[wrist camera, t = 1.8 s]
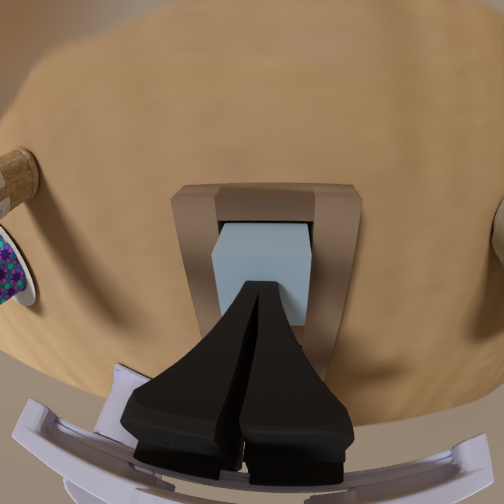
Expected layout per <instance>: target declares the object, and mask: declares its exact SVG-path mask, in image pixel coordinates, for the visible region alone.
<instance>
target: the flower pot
mask: <svg viewBox="0 0 504 504" xmlns="http://www.w3.org/2000/svg"><path fill="white" fill-rule="evenodd" d="M492 246H493V249H494V251H495V253H496V255H497V256H498V258H499V259H500V261H501V263H502V264H503V266H504V199H503V200H502V202H501V204H500V206H499V208H498V210H497V212H496V215H495V218H494V232H493V236H492Z"/></svg>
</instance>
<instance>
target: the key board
mask: <svg viewBox="0 0 504 504" xmlns="http://www.w3.org/2000/svg"><path fill="white" fill-rule="evenodd" d="M171 204H172V210H173V215H174V220H175V225H176V230H177V235H178V240H179V245H180V250H181V254H182V259H183V263H184V268H185V272H186V276H187V280H188V285H189V289H190V293H191V297H192V301H193V305H194V309H195V313H196V316H197V320H198V324H199V327H200V331H201V335H202V338H204V337H205V336H206V335H207V334H208V333H209V332H210V331H211V329H212V328H213V327H214V326H215V325H216V323H217V322H218V321H219V320H220V318H221V317H222V315H221V309H220V304H219V298H218V292H217V286H216V280H215V274H214V268H213V261H212V255H211V254H212V252H213V249H214V247H215V245H216V242H217V240H218V238H219V236H220V233H221V231H222V229H223V226H224V224H225V223H227V221H235V220H260V221H310V231H309V240H310V247H311V255H312V258H311V270H310V281H309V291H308V301H307V310H306V319H305V326H295V325H290V327H291V329H292V331H293V333H294V335H295V338H296V340H297V342H298V343H299V345H300V347H301V349H302V351H303V353H304V354H305V356H306V357H307V359H308V361H309V362H310V364H311V365H312V367H313V368H314V370H315V371H316V373H317V374H318V375H319V377H320V378H321V380H322V381H323V382H324V380H325V376H326V373H327V370H328V366H329V363H330V359H331V356H332V352H333V349H334V345H335V341H336V337H337V334H338V330H339V326H340V322H341V317H342V313H343V309H344V304H345V300H346V295H347V291H348V286H349V281H350V276H351V270H352V265H353V259H354V254H355V248H356V242H357V235H358V228H359V221H360V214H361V206H362V198H361V196H360V195H359V193H358V192H357V190H356V189H355V188H354V186H353V185H342V184H316V183H231V184H205V185H186V186H183V187H182V188H181V189H180V190H179V191H178V192H177V193H176V194H175V195H174V196H173V197H172V198H171Z"/></svg>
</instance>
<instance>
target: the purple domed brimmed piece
mask: <svg viewBox="0 0 504 504" xmlns="http://www.w3.org/2000/svg"><path fill="white" fill-rule="evenodd" d="M0 234H1V235H2V236H3V237H4V238H5V239H6V240H7V241H8V243H9V244H10V245H11V246H10V245H9V244H8V243H6V242H5V241H4V239H3V238H2V236H1V235H0V305H1V304H2V303H4V302H5V301H7V300H8V299H10V298H12V299H13V300H15V301H16V302H18V303H20V304H22V305H25V306H30V305H32V304H33V303H34V302H35V289H34V284H33V281H32V278H31V276H30V273H29V271H28V268H27V266H26V264H25V262H24V260H23V258H22V257H21V255H20V253H19V251H18V250H17V248H16V246H15V245H14V243H13V242H12V240H11V239H10V238H9V236H8V235H7V234H6V232H5V231H4V230H3V229H2V228H1V227H0ZM12 248H13V249H12ZM13 250H14V251H15V252H14V251H13ZM15 253H16V254H15ZM16 255H17V257H18V258H19V260H20V262H21V264H22V266H21V265H20V263H19V262H18V261H17V258H16ZM22 267H23V268H22ZM23 269H24V270H23ZM24 272H25V274H24ZM25 275H26V279H27V288H26V283H25V281H24V279H23V278H24V277H25ZM25 288H26V290H25V291H23V292H20V291H22V290H24V289H25Z"/></svg>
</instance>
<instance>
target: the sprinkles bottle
mask: <svg viewBox="0 0 504 504" xmlns="http://www.w3.org/2000/svg"><path fill="white" fill-rule="evenodd" d="M38 183H39V176H38V170H37V165H36V163H35V160H34V158H33V156H32V155H31V153H30V152H29V151H28V150H27V149H25V148H24V147H19V146H18V147H16V148H14V149H12V150H11V151H10V152H8V153H6V154H4V155H2V156H0V220H1V219H2V218H3V217H5V216H6V215H7V213H8V212H10V211H11V210H12V209H14V208H15V207H17V206H18V205H20V204H21V203H23V202H24V201H27V200H30V199H31V198H33V197H34V195H35V194H36V192H37V189H38Z"/></svg>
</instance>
